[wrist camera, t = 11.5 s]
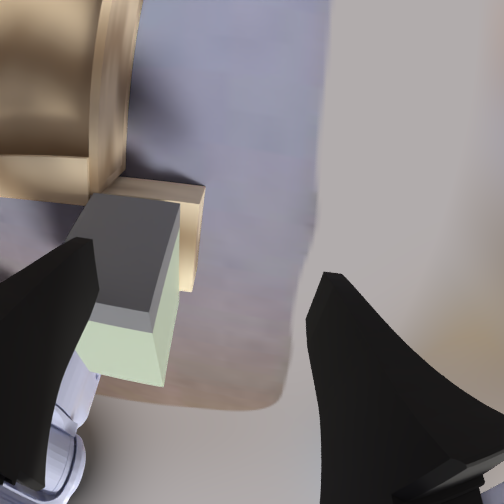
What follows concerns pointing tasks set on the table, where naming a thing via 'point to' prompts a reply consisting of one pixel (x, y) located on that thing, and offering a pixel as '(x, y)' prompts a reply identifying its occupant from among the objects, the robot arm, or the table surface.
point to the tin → (131, 286)
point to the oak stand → (189, 216)
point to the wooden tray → (64, 96)
